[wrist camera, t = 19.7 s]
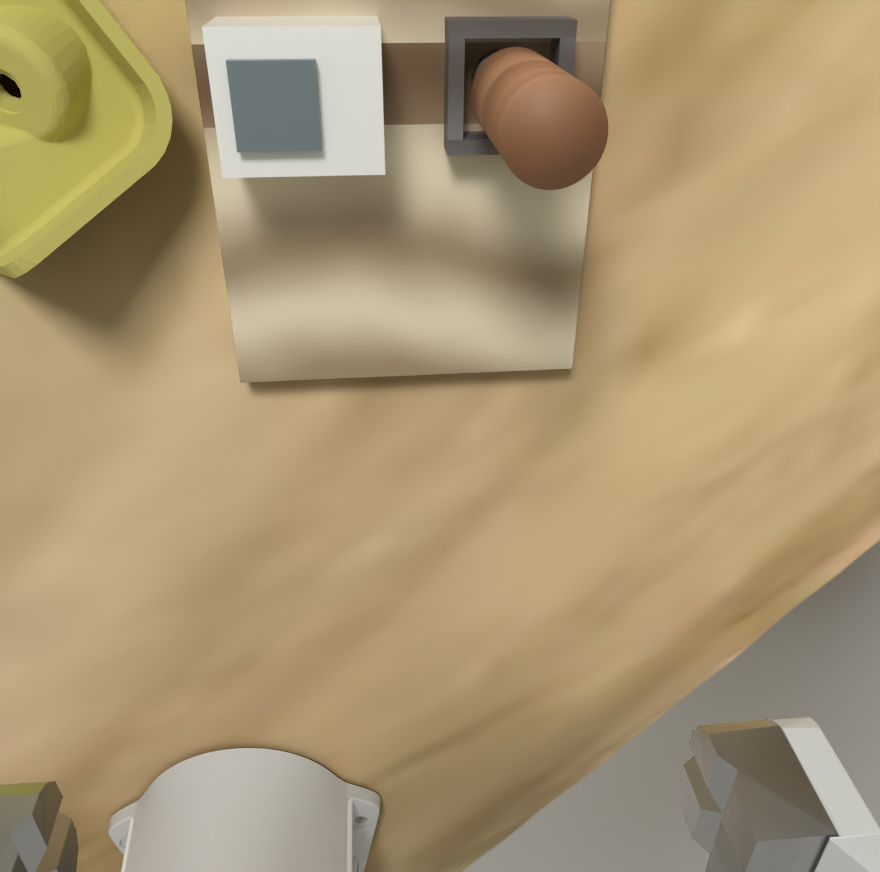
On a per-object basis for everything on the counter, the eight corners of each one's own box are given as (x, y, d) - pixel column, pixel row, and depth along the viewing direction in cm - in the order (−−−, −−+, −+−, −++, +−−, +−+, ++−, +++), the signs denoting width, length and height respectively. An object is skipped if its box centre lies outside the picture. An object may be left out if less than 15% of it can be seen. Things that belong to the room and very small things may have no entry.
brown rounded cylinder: (547, 110, 33) (615, 171, 25) (472, 134, 33) (514, 203, 25) (530, 26, 31) (598, 61, 23) (451, 52, 32) (489, 96, 23)
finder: (377, 16, 31) (381, 27, 27) (381, 152, 33) (385, 177, 30) (215, 16, 30) (199, 27, 27) (233, 155, 33) (220, 181, 29)
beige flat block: (566, 357, 41) (579, 383, 38) (242, 370, 39) (236, 398, 37) (607, -64, 31) (628, -63, 29) (181, -66, 30) (167, -65, 27)
